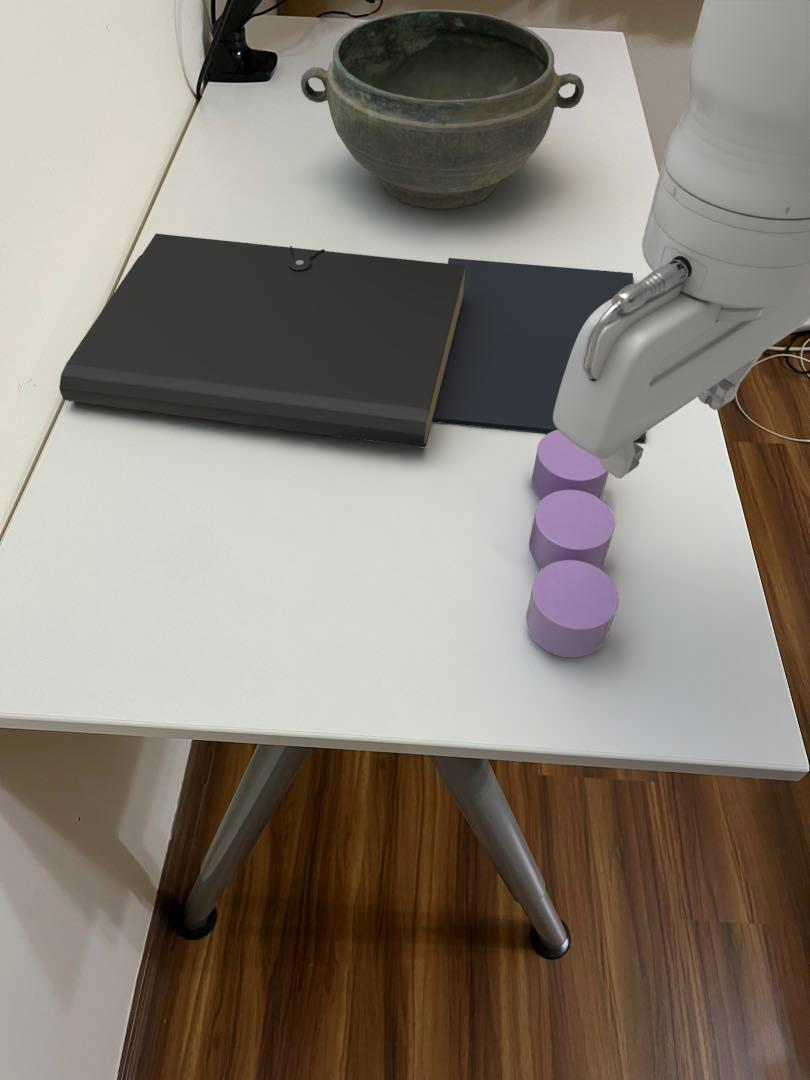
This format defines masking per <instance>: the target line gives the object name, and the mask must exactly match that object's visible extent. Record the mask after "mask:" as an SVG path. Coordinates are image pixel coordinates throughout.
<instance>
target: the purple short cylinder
mask: <svg viewBox="0 0 810 1080" xmlns="http://www.w3.org/2000/svg"><path fill="white" fill-rule="evenodd" d="M609 474H610V473H609V472H608V471H607V470H605V469H604V468H603V467H602V465H601V463H600V459H599V458H596V457H594V456H593V455H591V454H589V453H588V452H586V451H585V450H583V449H581V448H580V447H578V446H577V445H575V444H574V443H573V442H572V441H570V440H569V439H568V438H567V437H565V436H564V435H563V434H562V433H561V432H560V431H559V430H555V431H552V432H550V433H546V434H545V435H544V436H543V437H542V438H541V440H540V441H539V443H538V445H537V449H536V455H535V459H534V464H533V470H532V475H531V485H532V489H533V492H534V493H535V494H536V495H537V497H538V498H539V499H540V501H541V500H542V499H543V498H544V497H546V496H547V495H549V494H551V493H554V492H556V491H560V490H579V491H583V492H587V493H590V494H592V495H594V496H596V497H598V498H599V499H601V498H602V497H603V495H604V491H605V488H606V484H607V480H608V478H609Z"/></svg>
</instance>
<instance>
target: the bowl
mask: <svg viewBox="0 0 810 1080" xmlns="http://www.w3.org/2000/svg"><path fill="white" fill-rule="evenodd" d="M313 78H314V79H318V80H320V81H321V82H322V85H323V87H324V90H315V89H314V88H312V86H310V82H309V80H310V79H313ZM300 79H301V80H300V87H301V93H303V96H304V97H305V98H306V99H308V100H309V101H311V102H314V103H323V102H327V103H328V108H329V111H330V112H329V113H330V117H331V120H332V123H333V126H334V130H335V131H336V133H337V135H338V137H339V138H340V140H341V141H342V143H343V144H344V146H345V148H346V150H348V152H349V153H350V154H351V156H352V157H353V158H354V160H355V161H356V162H358V164H360V166H362V167H363V168H364V169H366V171H368V172H370V173H371V174H372V175H374V176H376V177H378V178H379V179H381V183H382V186H383V187H384V188H385V189H386V191H387V193H388V194H389V195H391V196H392V197H394V198H395V199H397V200H398V201H400V202H402V203H405V204H408V205H411V206H414V207H419V208H425V209H435V210H436V209H438V210H447V209H448V210H450V209H460V208H463V207H466V206H471V205H473V204H476V203H478V202H481V201H482V200H485V199H486V198H487V197H489V196H491V195H492V193H494V191H495V189H496V188H497V186H498V185H499V182H500V181H502V180H505V179H506V178H507V177H509V176H510V175H512V174H513V173H514V172H516V171H517V170H518V169H520V168H521V167H523V165H525V164H526V163H527V162H528V160H529V159H530V157H531V156H532V155H533V154H534V152H535V151H536V150H537V149H538V147H539V146H540V145H541V143H542V142H543V140H544V138H545V136H546V134H547V132H548V130H549V127H550V125H551V121H552V119H553V115H554V112H555V108H560V109H572V108H574V107H576V106H577V105H578V104H580V102H581V100H582V98H583V95H584V92H585V85H584V82H583V80H582V78H581V77H580V76H579V75H577V74H574V73H571V72H569V73H563V74H558V73H557V72H556V70H555V53H554V51H553V49H552V47H551V46H550V44H549V43H548V42H547V41H546V40H545V39H543V38H542V37H541V36H540V35H538V34H537V33H536V32H534V31H533V30H531V29H530V28H528V27H526V26H524V25H522V24H519V23H517V22H515V21H513V20H510V19H507V18H503V17H501V16H497V15H493V14H490V13H485V12H479V11H472V10H471V11H470V10H461V9H439V8H433V9H432V8H431V9H429V8H428V9H415V10H404V11H400V12H393V13H389V14H384V15H381V16H376V17H373V18H370V19H368V20H366V21H362V22H361V23H359V24H357V25H356V26H354V27H352V28H350V29H348V30H347V31H346V32H345V33H344V34H343V35H341V37H339V39H338V41H337V42H336V44H335V45H334V48H333V52H332V61H331V62H330V63H329V65H328V67H327V70H326V69H324V68H323V67H321V66H312V67H310V68H308V69H307V70H306V71H305V72H304V73H303V74H302V75H301V78H300ZM569 84H570V85H574V92H573V93H572V95H571V96H568V97H567V96H566V97H563V96H562V95H561V94H560V91H561V88H563V87H564V86H566V85H569Z"/></svg>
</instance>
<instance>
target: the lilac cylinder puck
mask: <svg viewBox="0 0 810 1080" xmlns="http://www.w3.org/2000/svg"><path fill="white" fill-rule="evenodd" d="M532 521H533V522H532V527H531V530H530V535H529V542H528V548H529V552H530V555H531V557H532V559H533V560H534V562H535V563H536V564H537V566H539V568H540V569H541V570H542V569H543V568H545V567H546V566H548V565H549V564H552V563H554V562H558V561H563V560H576V561H582V562H586V563H589V564H591V565H593V566H595V567H597V568H599V569H600V568H602V566H603V565H604V563H605V561H606V558H607V555H608V551H609V548H610V545H611V542H612V539H613V536H614V533H615V529H616V519H615V516H614V513H613V511H612V510H611V508H610V507H609V505H608V504H607V503H606V502H605V501H603V499H601V498H600V499H599V498H598V497H596V496H594V495H592V494H590V493H587V492H583V491H579V490H560V491H556V492H554V493H551V494H549V495H547V496H546V497H544V498H543V499H542V500H541V499H540V501H539V502H538V504H537V506H536V508H535V512H534V516H533V520H532Z"/></svg>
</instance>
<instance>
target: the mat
mask: <svg viewBox="0 0 810 1080" xmlns="http://www.w3.org/2000/svg"><path fill="white" fill-rule="evenodd" d="M447 264H456V265H465V266H466V267H465V275H464V276H465V277H464V278H465V280H464V289H463V290H464V292H463V295H464V298H463V302H462V306H461V310H460V314H459V318H458V322H457V326H456V330H455V334H454V338H453V342H452V346H451V350H450V354H449V358H448V362H447V366H446V370H445V374H444V378H443V382H442V386H441V390H440V394H439V398H438V402H437V406H436V410H435V414H434V418H433V422H432V423H437V424H447V425H455V426H456V425H459V426H465V427H466V426H468V427H477V428H478V427H479V428H488V429H497V430H499V429H500V430H508V431H519V432H531V433H539V434H548V433H550V432H552V431H555V430H558V429H557V427H556V426H555V424H554V422H553V412H554V407H555V404H556V400H557V396H558V393H559V389H560V386H561V382H562V379H563V376H564V373H565V370H566V366H567V363H568V361H569V358H570V355H571V352H572V349H573V346H574V344H575V341H576V339H577V337H578V335H579V332H580V331H581V329H582V327H583V325H584V324H585V322H586V321H587V319H588V318H589V317H590V316H591V314H592V313H593V312H594V311H595V310H596V309H598V308H599V307H600V306H601V305H603V304H604V303H606V302H607V301H609V300H611V299H612V298H613V297H614V296H615V295H616V294H617V293H618V292H619V291H620V290H621V289H623V288H624V287H626V286H628V285H630V284H633V283H634V273H633V272H622V271H614V270H613V271H612V270H601V269H589V268H577V267H576V268H575V267H566V266H565V267H564V266H553V265H542V264H541V265H540V264H529V263H528V264H527V263H517V262H516V263H515V262H504V261H494V260H493V261H491V260H480V259H479V260H477V259H469V258H454V257H448V260H447ZM646 440H647V432H645V433H644V434H642V435H641V436H640V437H639V438H638V439H637V440H635V441H633V443H646Z"/></svg>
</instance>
